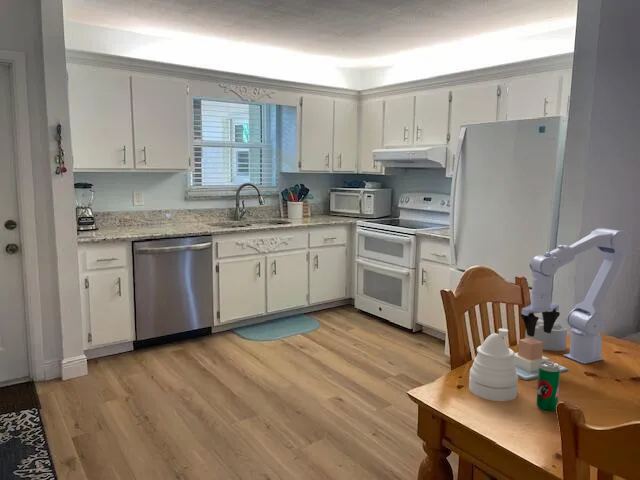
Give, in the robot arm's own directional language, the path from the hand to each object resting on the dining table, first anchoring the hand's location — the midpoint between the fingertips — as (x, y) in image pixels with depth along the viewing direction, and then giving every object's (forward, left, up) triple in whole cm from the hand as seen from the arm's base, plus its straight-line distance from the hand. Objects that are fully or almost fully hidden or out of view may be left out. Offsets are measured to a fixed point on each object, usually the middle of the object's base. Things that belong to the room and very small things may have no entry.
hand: (538, 334), depth 158 cm
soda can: (+24, +24, -10) cm, 35 cm away
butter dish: (+6, +2, -9) cm, 11 cm away
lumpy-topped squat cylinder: (-16, -10, -10) cm, 21 cm away
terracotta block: (+6, +2, -6) cm, 9 cm away
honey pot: (+29, +10, -10) cm, 32 cm away
